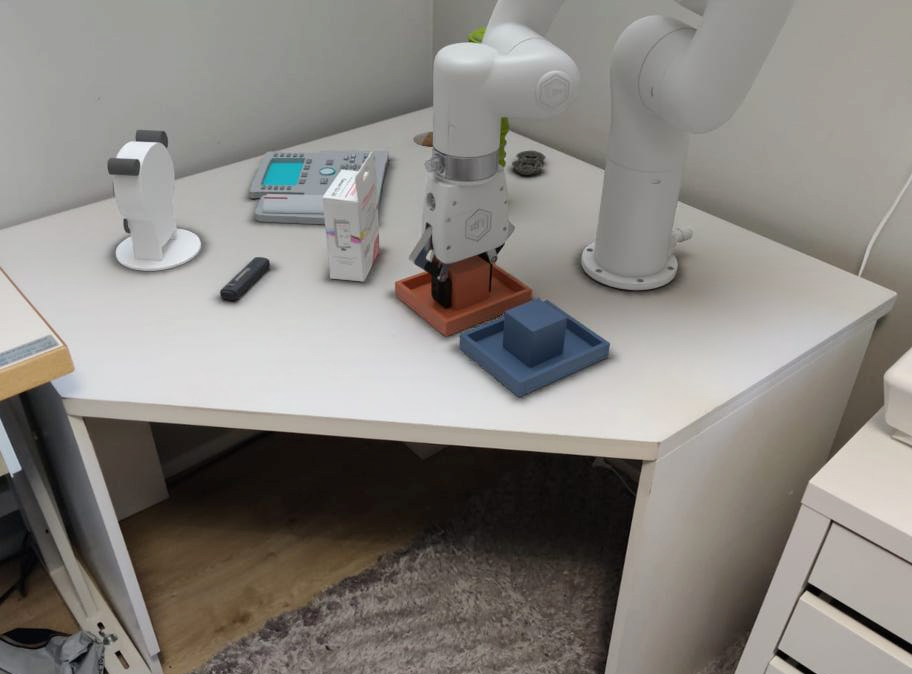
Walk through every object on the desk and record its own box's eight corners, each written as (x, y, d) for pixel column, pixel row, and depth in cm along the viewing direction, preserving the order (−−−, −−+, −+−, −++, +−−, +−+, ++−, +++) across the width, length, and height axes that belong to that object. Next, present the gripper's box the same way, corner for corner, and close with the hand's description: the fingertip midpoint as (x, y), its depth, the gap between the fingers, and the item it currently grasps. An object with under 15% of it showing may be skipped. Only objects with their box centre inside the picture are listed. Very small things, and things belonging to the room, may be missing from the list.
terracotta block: (465, 281, 115) (466, 247, 112) (488, 298, 112) (490, 264, 108) (433, 293, 113) (433, 258, 109) (456, 311, 109) (456, 276, 106)
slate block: (535, 333, 106) (538, 297, 102) (563, 353, 102) (567, 317, 99) (502, 347, 103) (504, 311, 100) (529, 368, 100) (532, 331, 97)
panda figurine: (136, 225, 128) (113, 124, 118) (212, 230, 127) (195, 128, 117) (102, 268, 118) (74, 162, 109) (185, 273, 117) (164, 166, 108)
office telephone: (375, 211, 126) (235, 208, 127) (376, 227, 128) (238, 224, 128) (388, 143, 144) (266, 140, 145) (388, 158, 146) (267, 155, 146)
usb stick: (255, 263, 119) (254, 253, 118) (272, 267, 118) (271, 257, 118) (218, 299, 112) (216, 288, 111) (236, 303, 112) (234, 292, 111)
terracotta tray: (478, 265, 119) (478, 252, 118) (531, 302, 112) (532, 289, 110) (395, 295, 113) (394, 281, 112) (445, 336, 106) (445, 322, 105)
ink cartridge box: (345, 247, 123) (338, 146, 114) (380, 251, 122) (376, 149, 113) (327, 279, 116) (318, 174, 107) (364, 283, 115) (358, 177, 106)
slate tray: (545, 313, 110) (547, 299, 109) (608, 357, 103) (610, 343, 101) (459, 348, 104) (459, 334, 103) (519, 397, 97) (520, 383, 96)
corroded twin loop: (547, 157, 146) (548, 151, 145) (540, 178, 140) (540, 172, 139) (517, 154, 147) (518, 148, 146) (508, 174, 141) (509, 168, 140)
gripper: (421, 190, 95) (421, 331, 106) (545, 154, 102) (533, 288, 113) (384, 166, 99) (388, 302, 111) (504, 132, 107) (497, 263, 118)
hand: (461, 294), depth 112 cm, fingers open, 5 cm apart
